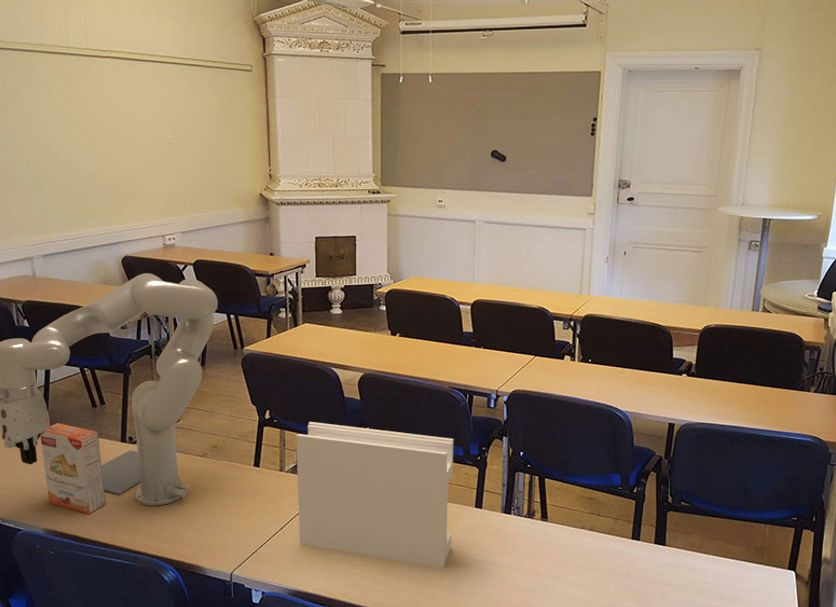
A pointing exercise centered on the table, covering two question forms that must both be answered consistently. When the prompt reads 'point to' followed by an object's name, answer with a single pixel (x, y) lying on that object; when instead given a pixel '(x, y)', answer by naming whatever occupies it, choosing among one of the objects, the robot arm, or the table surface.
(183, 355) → the robot arm
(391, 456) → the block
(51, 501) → the cracker box
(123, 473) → the mat
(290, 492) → the table surface
